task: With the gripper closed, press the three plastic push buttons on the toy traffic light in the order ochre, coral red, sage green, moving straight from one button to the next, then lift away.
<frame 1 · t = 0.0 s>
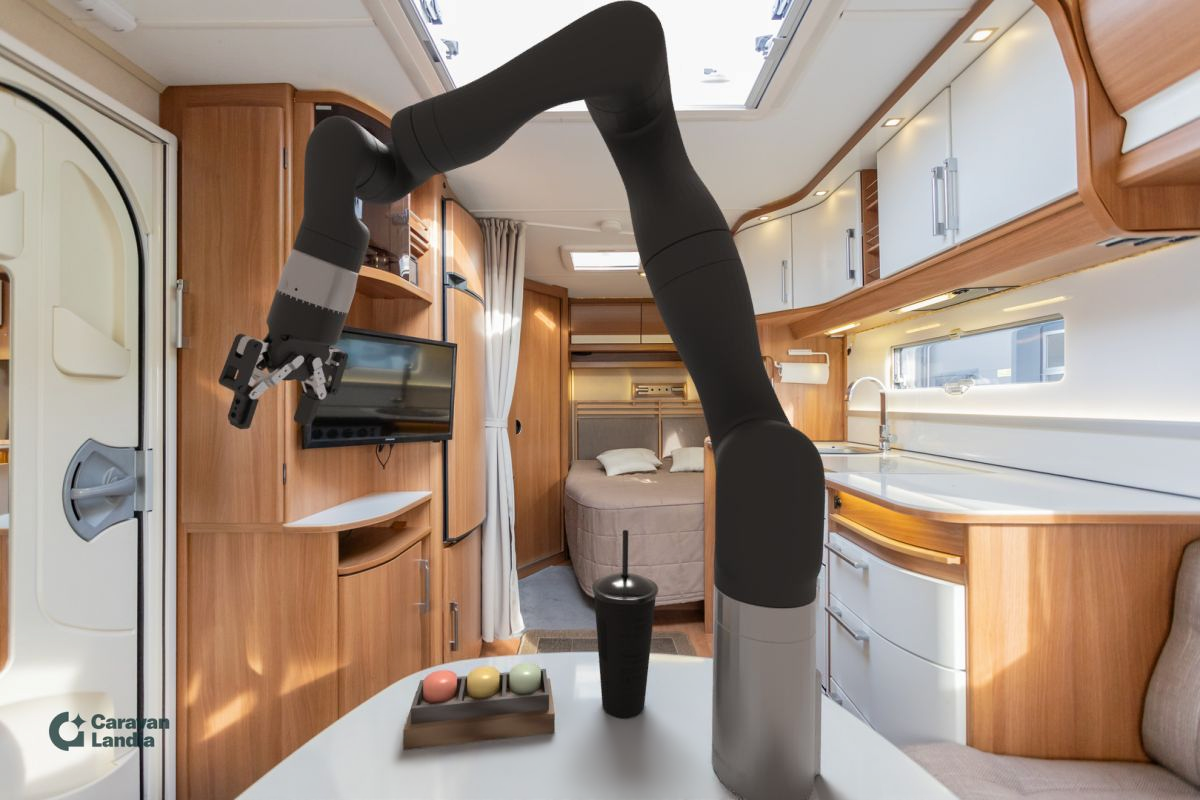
hand: (272, 424, 57), 31 cm above the table, tool tilted 20°, fingers open, 8 cm apart
button ochre: (483, 682, 52), point 4 cm above the table, slide at 0.0 cm
toy traffic light: (482, 720, 52), on the table
button sage: (525, 678, 52), point 4 cm above the table, slide at 0.0 cm
button coral: (440, 686, 51), point 4 cm above the table, slide at 0.0 cm
drinking cup: (623, 706, 54), on the table
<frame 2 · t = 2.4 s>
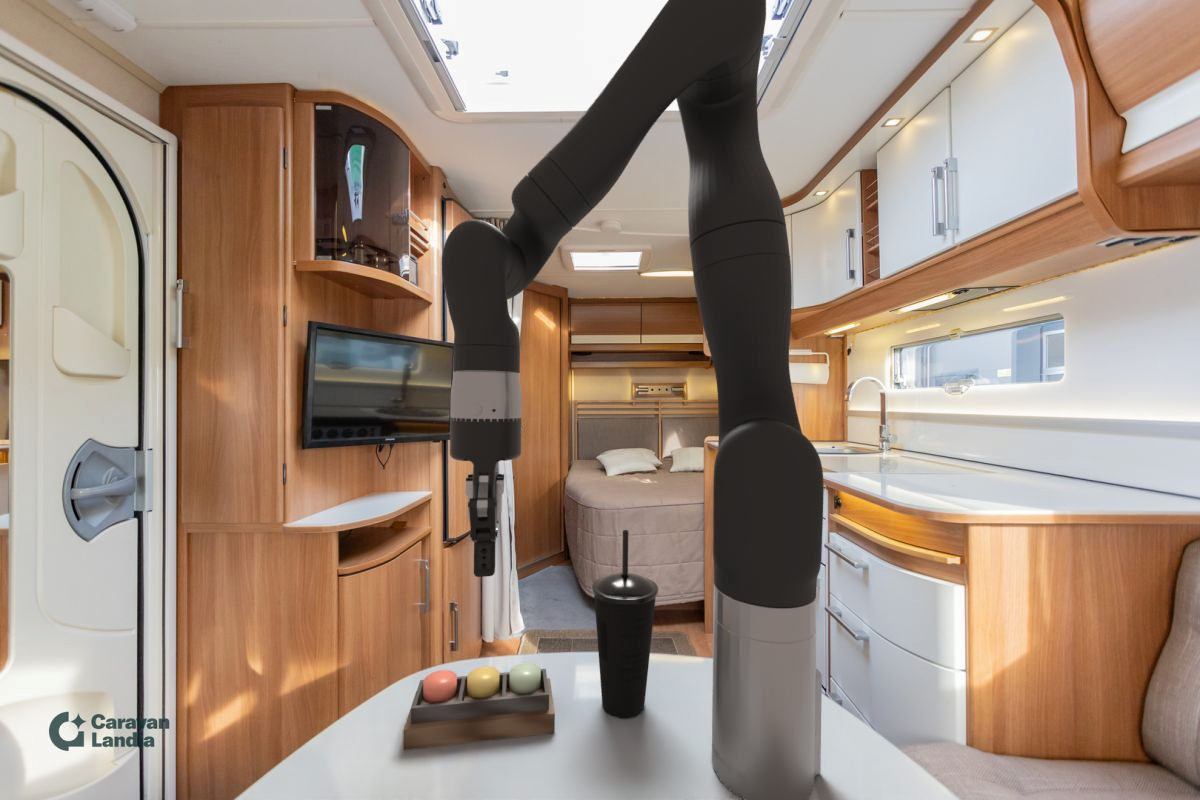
hand: (484, 573, 52), 16 cm above the table, tool pointing down, fingers closed
nothing on the table moved.
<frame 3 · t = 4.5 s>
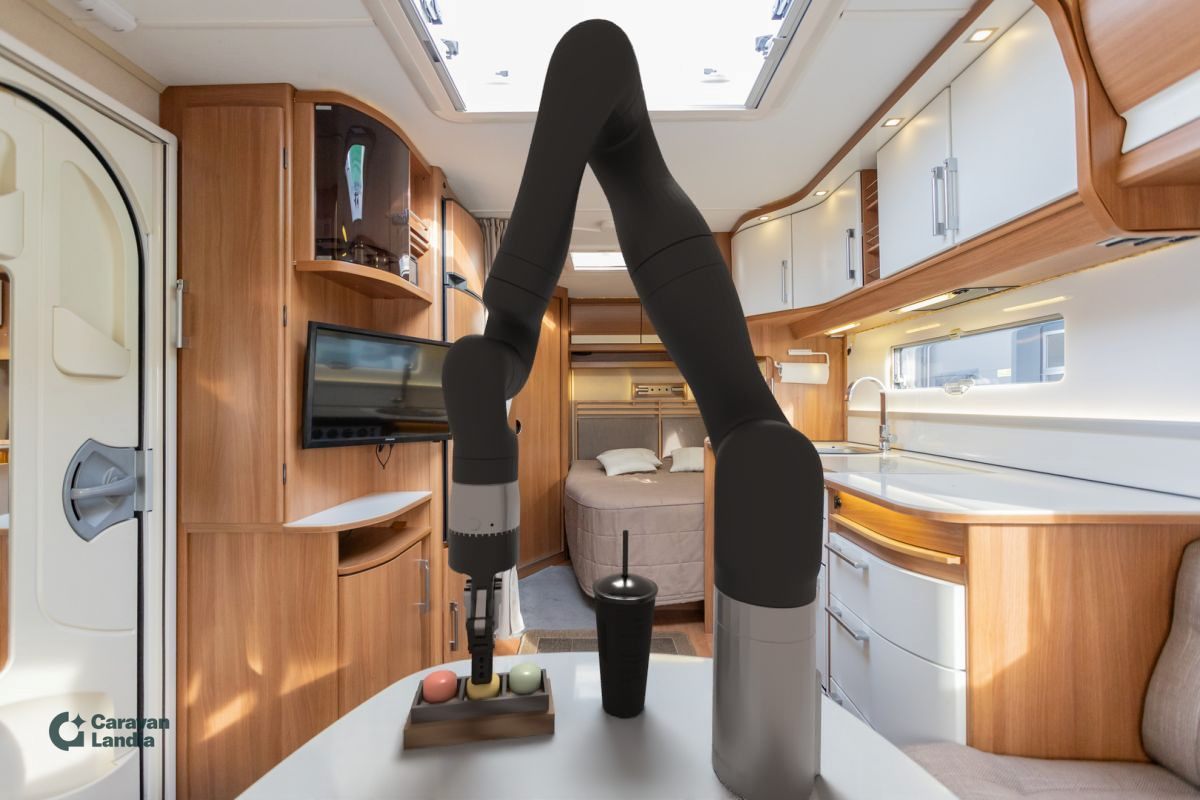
hand: (482, 680, 52), 4 cm above the table, tool pointing down, fingers closed
button ochre: (483, 688, 52), point 3 cm above the table, slide at 0.6 cm, touching gripper
everything else where it was.
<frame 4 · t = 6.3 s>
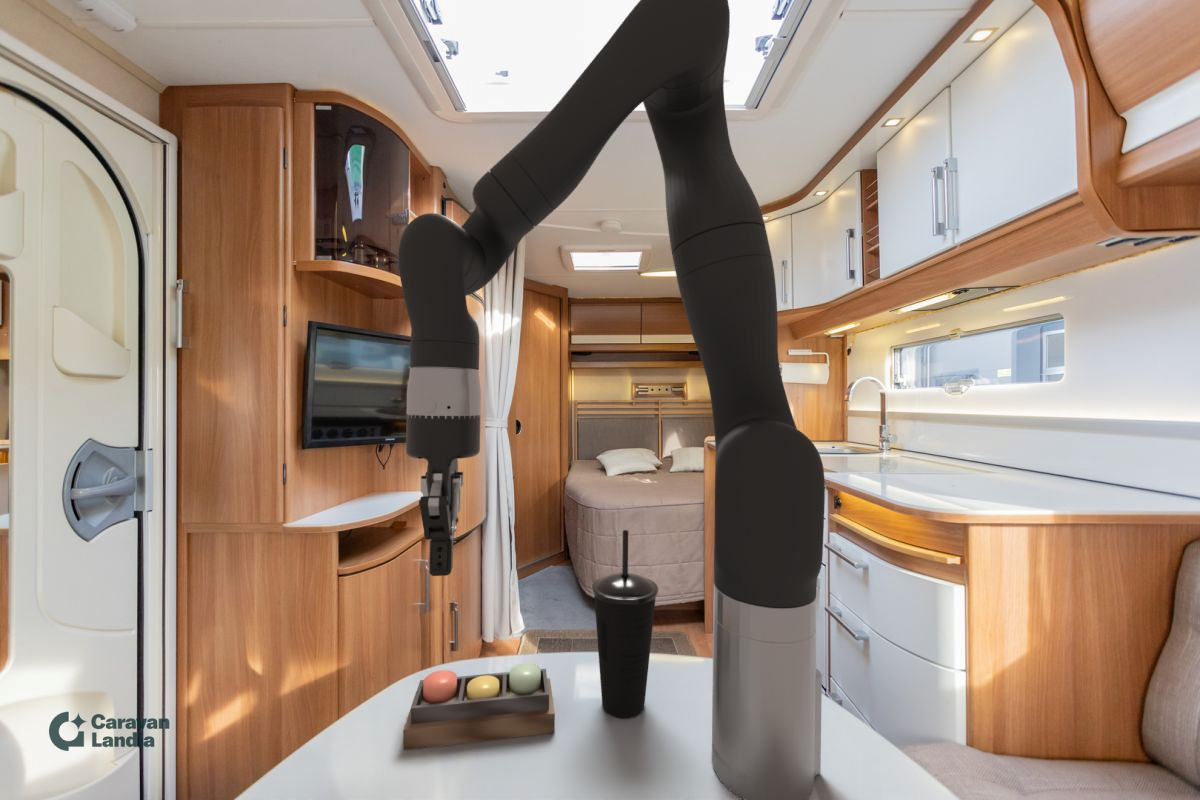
hand: (441, 572, 51), 16 cm above the table, tool pointing down, fingers closed
button ochre: (483, 691, 52), point 3 cm above the table, slide at 1.0 cm
everything else where it was.
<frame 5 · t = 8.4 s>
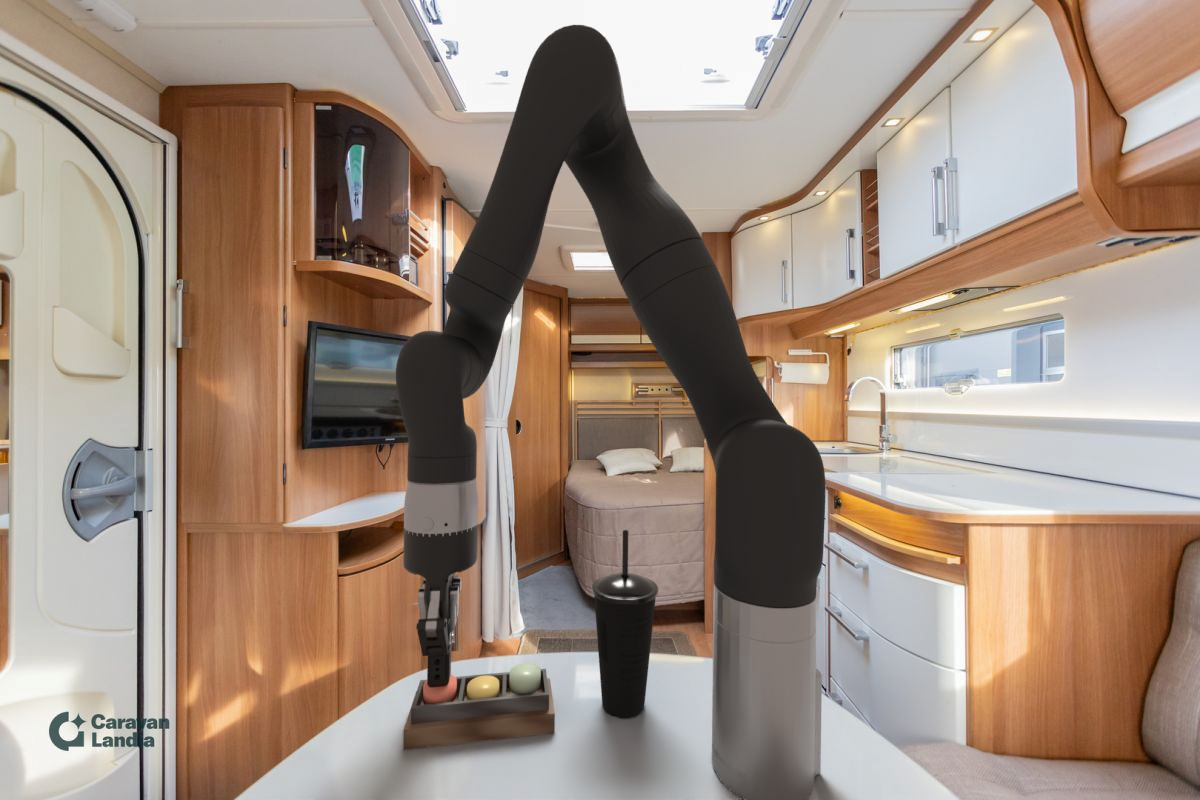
hand: (439, 682, 51), 5 cm above the table, tool pointing down, fingers closed
button coral: (440, 690, 51), point 4 cm above the table, slide at 0.4 cm, touching gripper
everything else where it was.
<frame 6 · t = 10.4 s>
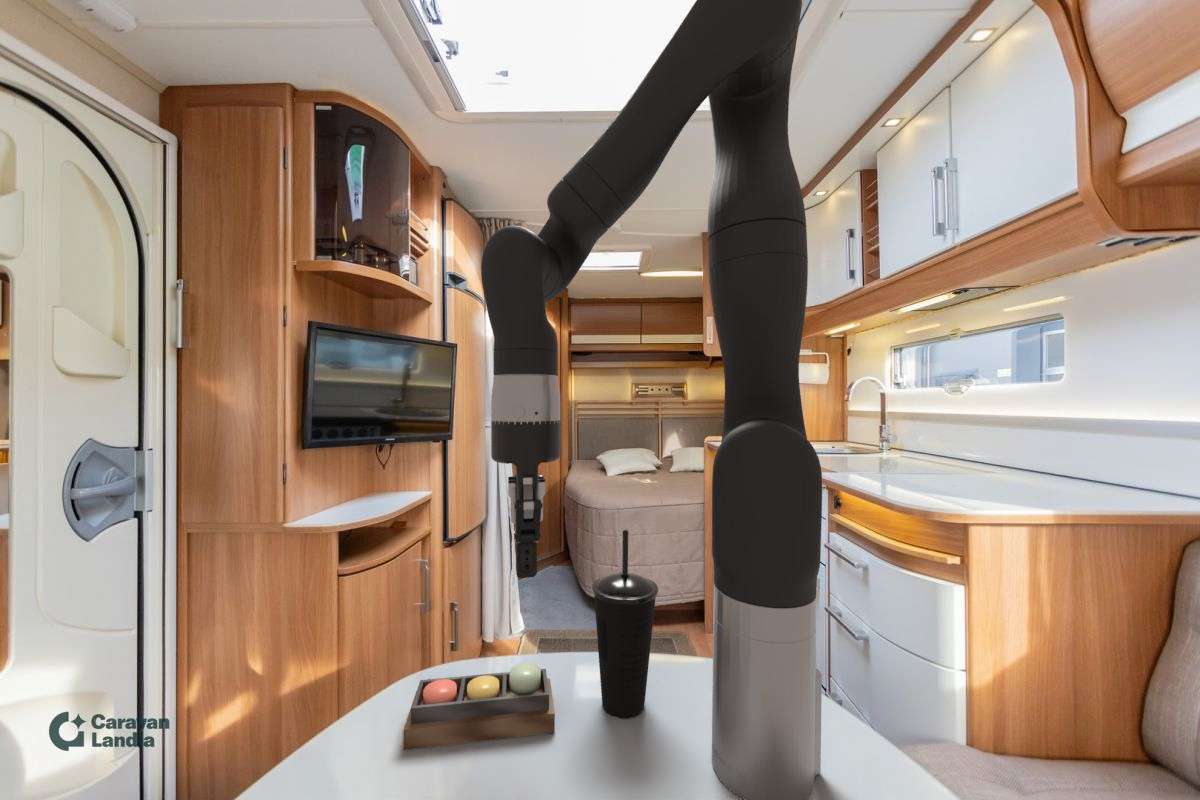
hand: (526, 574, 52), 16 cm above the table, tool pointing down, fingers closed
button coral: (440, 696, 51), point 3 cm above the table, slide at 1.0 cm
everything else where it was.
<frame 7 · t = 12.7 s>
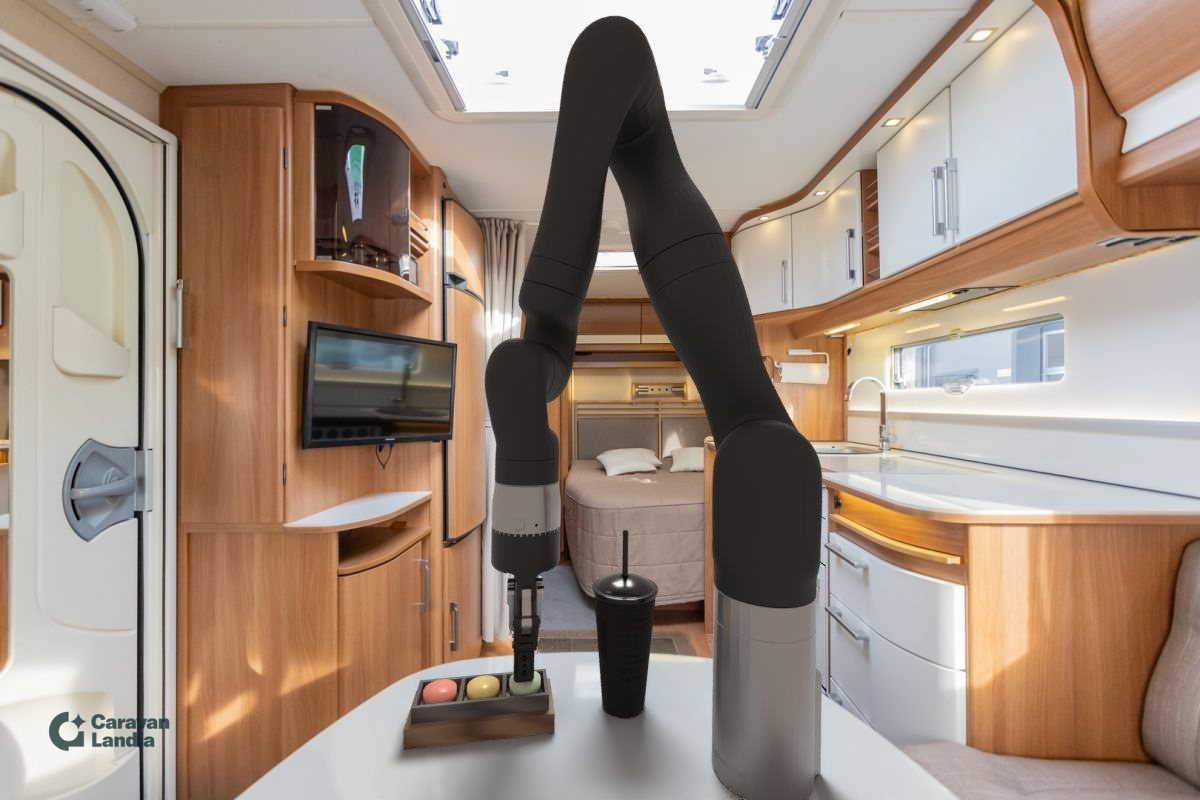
hand: (523, 678, 53), 4 cm above the table, tool pointing down, fingers closed
button sage: (525, 685, 52), point 3 cm above the table, slide at 0.8 cm, touching gripper
everything else where it was.
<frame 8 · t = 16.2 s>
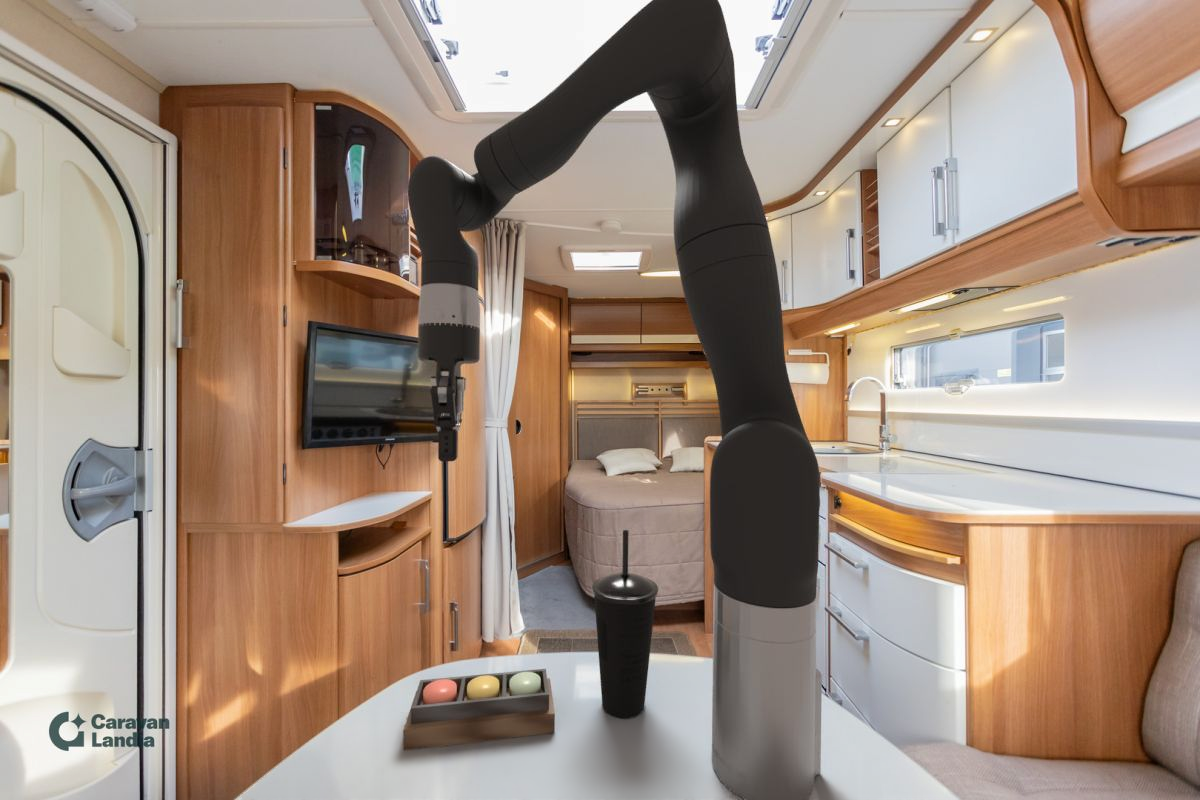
hand: (448, 460, 61), 27 cm above the table, tool pointing down, fingers closed
button sage: (525, 687, 52), point 3 cm above the table, slide at 1.0 cm
everything else where it was.
at the end: button ochre slide at 1.0 cm; button coral slide at 1.0 cm; button sage slide at 1.0 cm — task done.
